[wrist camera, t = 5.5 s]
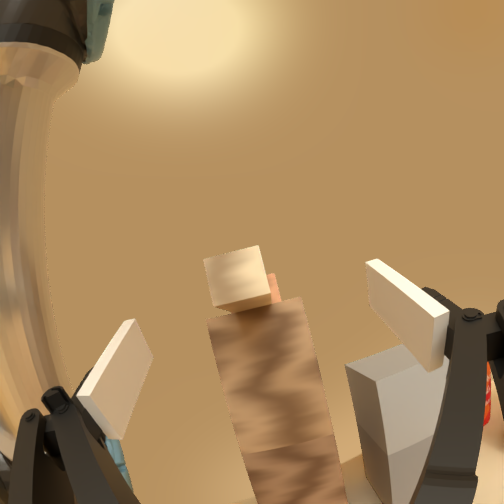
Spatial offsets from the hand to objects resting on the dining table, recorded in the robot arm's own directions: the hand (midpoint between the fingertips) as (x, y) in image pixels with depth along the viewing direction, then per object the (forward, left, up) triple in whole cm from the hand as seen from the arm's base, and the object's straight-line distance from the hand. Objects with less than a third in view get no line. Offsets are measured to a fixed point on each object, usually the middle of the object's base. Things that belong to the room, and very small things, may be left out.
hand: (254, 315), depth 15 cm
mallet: (-1, +13, +1) cm, 13 cm away
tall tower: (-1, +18, -29) cm, 34 cm away
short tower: (+13, +18, -29) cm, 36 cm away
